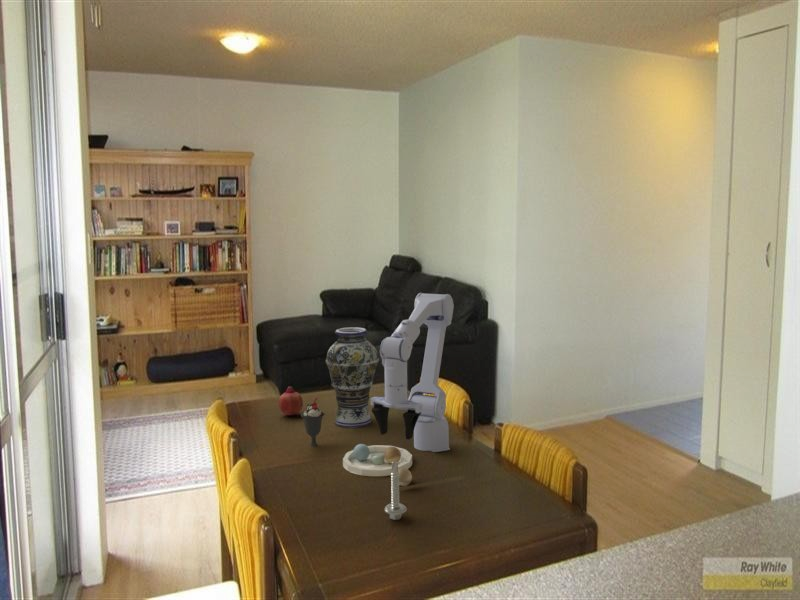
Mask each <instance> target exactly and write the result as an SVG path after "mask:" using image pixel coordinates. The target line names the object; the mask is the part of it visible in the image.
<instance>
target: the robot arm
mask: <svg viewBox="0 0 800 600" xmlns="http://www.w3.org/2000/svg"><path fill="white" fill-rule="evenodd" d="M413 305H414V309H413V311H412V312H411V314H410V316H409V317H408V319H403V320H402V321H401V322H400V324H399V325H398V326H397V328H395V330H394V331H393V333H391V336H386V337H385V338H383V340H381V344H380V346H379V348H380V349H379V355H380V359H381V365H382V366H383V368H384V371H383V372H384V396H373V397H369V400H370V406H373V407H372V408H371V412H372V415H374V418H375V419H376V422H377V424H378V428H379V432H380V435H383V436H384V435H385V434H387V433H388V425H389V424H388V423H389V422H388V421H389V420H388V418H389V411H390V409H397V410H402V411H405V412H404V413H402V417H403V420H404V427H405V430H404V431H405V439H406V440H410V439H412V438H413V447H414V449H416V450H419V451H424V452H425V451H427V452H428V451H429V452H433V453H439V452H440V453H441V452H445V451H450V450H451V448H450V437H449V435H450V431H449V428H450V427H449V422H448V420H447V418H446V417H445V416H444V415H445V413H446V408H447V401H446V398H447V397H446V396H447V395H446V392H445V391H444V389H443V388H441V387H440V385H439V377H440V370H441V364H442V356H443V350H444V343H445V337H446V329H447V327H448V326H450V325H451V324H452V320H453V314H454V308H455V306H454V299H453V298H452V296H451V294H450V293H446V294H441V293H440V294H439V293H423V292H419V293H417V295H416V296H415V299H414V304H413ZM422 325H426V326H427V328H428V329H427V336H426V341H425V349H424V356H423V362H422V367H421V368H422V369H421V375H420V382H418V383H416V384H415V385H414V386H413V387H412V388H411V389H410V393H409V396H408V360H409V359H410V357H411V355H412V350H413V348H414V347H413V344H414V343H415V341H416V340H417V339H418V337H419V336H420V333H421V329H420V327H421V326H422Z"/></svg>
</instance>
